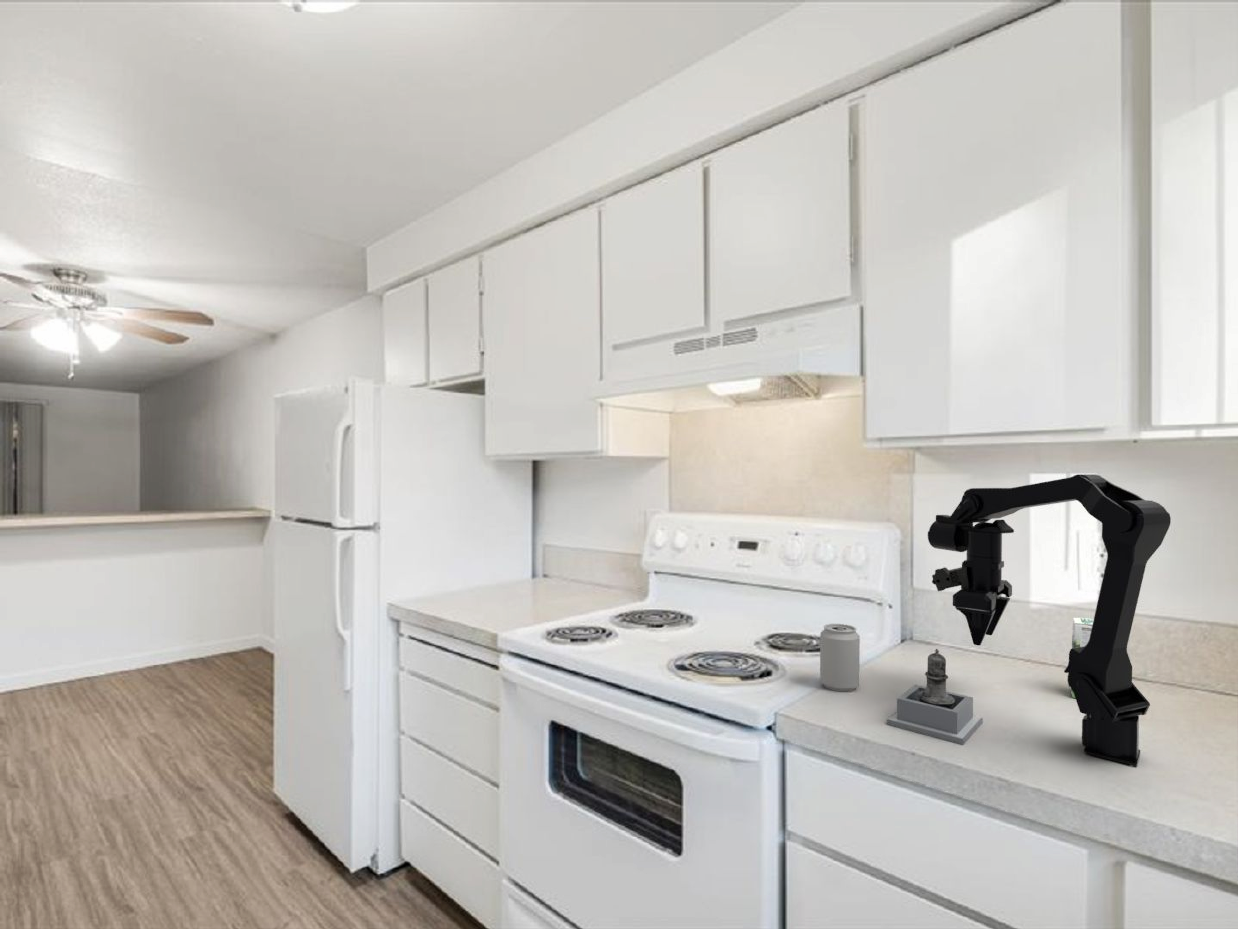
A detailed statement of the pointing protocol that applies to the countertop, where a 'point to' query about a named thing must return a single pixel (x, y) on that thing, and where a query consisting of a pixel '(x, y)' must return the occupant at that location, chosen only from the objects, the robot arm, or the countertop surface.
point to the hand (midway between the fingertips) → (983, 639)
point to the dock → (936, 716)
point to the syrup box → (1081, 634)
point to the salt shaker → (936, 683)
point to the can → (839, 657)
